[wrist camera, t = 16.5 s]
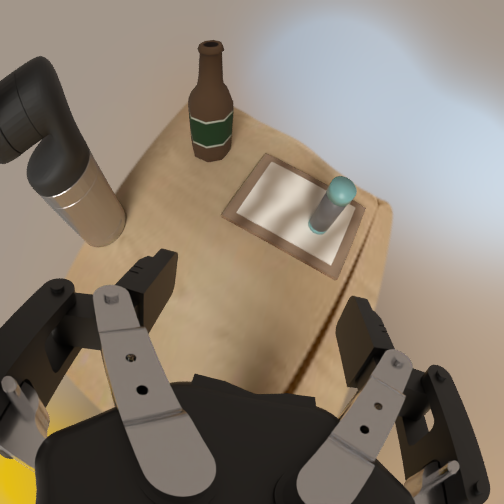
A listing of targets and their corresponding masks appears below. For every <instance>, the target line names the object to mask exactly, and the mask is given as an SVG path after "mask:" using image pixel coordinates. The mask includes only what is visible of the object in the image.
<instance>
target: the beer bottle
mask: <svg viewBox="0 0 504 504" xmlns="http://www.w3.org/2000/svg"><path fill="white" fill-rule="evenodd" d="M198 51H199V53H200V59H199V77H198V83H197V85H196V87H195V88H194V89H193V90H192V92H191V94H190V96H189V100H188V108H189V119H190V129H191V139H192V145H193V149H194V153H195V156H196V157H198V158H200V159H202V160H204V161H206V162H211V161H217V160H222V159H223V157H224V156H225V155H226V154H227V153H228V151H229V150H230V147H231V137H232V123H233V100H232V98H231V95H230V93H229V90H228V88H227V86H226V85H225V84H224V83H223V71H222V51H224V48H223V45H222V43H221V42H219V41H215V40H210V41H204V42H202V43H201V44H199V47H198Z"/></svg>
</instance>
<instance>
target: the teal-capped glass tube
mask: <svg viewBox="0 0 504 504" xmlns="http://www.w3.org/2000/svg"><path fill="white" fill-rule="evenodd" d="M356 192H357V191H356V187H355V185H354V183H353V182H352V181H351V180H350V179H348V178H346V177H342V176H338V177H335V178H334V179H333V180H332V182H331V183H330V185H329V187H328V189H327V191H326V193H325V195H324V196H323V198H322V200H321V201H320V203H319V205H318V206H317V208H316V210H315V211H314V213H313V214H312V216H311V218H310V219H309V222H308V226H309V228H310V230H311V231H312V232H313V233H315V234H318V235H321V234H324V233H325V232H326V231H327V230H328V229H329V228H330V226H331V225H332V224H333V223H334V221H335V220H336V219H337V217H338V216H339V215H340V214H341V212H342V211H343V210H344V209H345V207H346V206H347V205H348V204H349V203H350V202H351V201H352V199H353V198H354V197H355V196H356Z"/></svg>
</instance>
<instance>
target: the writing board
mask: <svg viewBox="0 0 504 504" xmlns="http://www.w3.org/2000/svg"><path fill="white" fill-rule="evenodd" d="M328 187H329V186H328V185H326V184H324V183H322V182H320V181H319V180H317V179H315V178H313V177H311V176H309V175H308V174H306V173H304V172H302V171H300V170H298V169H296V168H294V167H292V166H290V165H289V164H287V163H285V162H283V161H281V160H279V159H277V158H275V157H273V156H271V155H269V154H265V155H264V156H263V158H262V159H261V160H260V162H259V163H258V164H257V166H256V167H255V168H254V170H253V171H252V172H251V174H250V175H249V177H248V178H247V179H246V181H245V182H244V183H243V185H242V186H241V188H240V189H239V190H238V192H237V193H236V194H235V196H234V197H233V199H232V200H231V201H230V203H229V204H228V206H227V207H226V209H225V210H224V211H223V213H222V217H223V218H224V219H226V220H228V221H230V222H232V223H234V224H235V225H237V226H239V227H241V228H243V229H244V230H246V231H248V232H250V233H252V234H254V235H255V236H257V237H259V238H261V239H263V240H264V241H266V242H268V243H270V244H272V245H273V246H275V247H277V248H279V249H280V250H282V251H284V252H286V253H288V254H289V255H291V256H293V257H295V258H297V259H298V260H300V261H302V262H304V263H305V264H307V265H309V266H311V267H312V268H314V269H316V270H318V271H320V272H321V273H323V274H325V275H327V276H328V277H330V278H332V279H334V280H337V279H338V276H339V274H340V272H341V269H342V267H343V265H344V262H345V260H346V258H347V255H348V253H349V250H350V248H351V245H352V243H353V240H354V238H355V235H356V233H357V230H358V227H359V225H360V222H361V220H362V217H363V214H364V211H365V209H366V208H365V207H363V206H362V205H360V204H358V203H357V202H355V201H353V200H352V201H351V202H350V203H349V204H348V205H347V206H346V207H345V209H344V210H343V211H342V212H341V214H340V215H339V216H338V217H337V219H336V220H335V221H334V223H333V224H332V225H331V226H330V228H329V229H328V230H327V231H326V232H325V233H324V234H321V235H318V234H315V233H313V232H312V231H311V230H310V228H309V226H308V222H309V219H310V218H311V216H312V214H313V213H314V211H315V210H316V208H317V206H318V205H319V203H320V201H321V200H322V198H323V196H324V195H325V193H326V191H327V189H328Z"/></svg>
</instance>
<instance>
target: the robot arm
mask: <svg viewBox="0 0 504 504" xmlns="http://www.w3.org/2000/svg"><path fill="white" fill-rule="evenodd" d="M41 139H42V140H41ZM40 140H41V142H40V143H39V144H38V146H37V147H36V148H35V150H34V152H33V153H32V155H31V157H30V159H29V162H28V166H27V179H28V181H29V183H30V185H31V186H32V187H33V189H34V190H35V191H36V192H37V193H38V194H39V195H40V196H41V197H42V198H43V199H44V200H45V202H46V203H47V204H48V205H49V206H50V207H51V208H52V209H53V210H54V211H55V212H56V213H57V214H58V215H59V216H60V217H61V218H62V219H63V220H64V221H65V222H66V223H67V224H68V225H69V226H70V227H71V228H72V229H73V230H74V231H75V232H76V233H77V234H78V235H79V236H80V237H81V238H82V239H83V240H84V241H86V242H87V243H88V244H89V245H91V246H94V247H103V246H106V245H109V244H110V243H112V242H114V241H115V240H116V239H117V238H118V237H119V236H120V234H121V233H122V231H123V229H124V226H125V221H126V216H125V212H124V210H123V208H122V206H121V204H120V203H119V201H118V199H117V197H116V196H115V194H114V192H113V191H112V189H111V187H110V186H109V184H108V182H107V180H106V178H105V177H104V175H103V173H102V171H101V170H100V168H99V166H98V164H97V162H96V161H95V159H94V157H93V155H92V153H91V151H90V149H89V148H88V146H87V144H86V142H85V140H84V138H83V136H82V135H81V133H80V131H79V129H78V127H77V125H76V123H75V121H74V119H73V116H72V113H71V111H70V108H69V106H68V103H67V100H66V98H65V95H64V92H63V89H62V86H61V84H60V81H59V79H58V76H57V73H56V71H55V69H54V67H53V65H52V64H51V63H50V61H48V60H47V59H46V58H45V57H42V56H39V57H36V58H34V59H32V60H30V61H28V62H27V63H25V64H24V65H22V66H21V67H19V68H18V69H17V70H15V71H14V72H12V73H11V74H9V75H8V76H6V77H5V78H4V79H3V80H1V81H0V164H6V163H8V162H10V161H12V160H14V159H16V158H17V157H19V156H20V155H21V154H22V153H24V152H25V151H26V150H28V149H29V148H30V147H32V146H33V145H34V144H36V143H37V142H39V141H40ZM177 261H178V253H177V252H174V251H170V250H166V249H160V250H159V251H158V252H157V254H156V255H155V256H154V257H150V256H147V257H144V258H142V259H140V260H138V261H137V262H136V263H135V265H134V266H133V267H132V268H131V269H130V270H129V271H128V272H127V273H126V274H125V275H124V276H123V277H122V278H121V279H120V280H119V281H118V282H117V283H116V284H115V285H105V286H102V287H100V288H98V289H97V290H96V291H95V292H94V294H93V295H92V294H82V293H75V288H74V285H73V283H72V282H71V281H69V280H67V279H60V278H59V279H53V280H50V281H48V282H46V283H45V284H44V285H43V286H42V287H41V288H40V289H39V290H37V291H36V293H34V294H33V295H32V296H31V297H30V298H29V299H28V300H27V301H26V302H25V303H24V304H23V305H22V306H21V307H20V308H19V309H18V310H17V311H16V312H15V313H14V314H13V315H12V316H11V317H10V319H9V320H8V321H7V322H6V323H5V324H4V325H3V326H2V327H1V328H0V454H1V455H2V456H3V457H5V458H9V459H15V460H17V461H18V462H20V463H21V464H23V465H24V466H26V467H27V468H29V469H30V470H32V471H33V472H35V475H36V486H37V493H36V494H37V495H36V504H483V503H484V502H485V501H486V500H487V499H488V497H489V494H490V484H489V480H488V476H487V472H486V468H485V465H484V461H483V458H482V455H481V452H480V449H479V445H478V443H477V439H476V437H475V434H474V431H473V428H472V426H471V423H470V420H469V418H468V415H467V412H466V410H465V407H464V405H463V403H462V400H461V398H460V396H459V394H458V391H457V389H456V386H455V384H454V382H453V380H452V377H451V376H450V374H449V373H448V372H447V371H446V370H445V369H444V368H443V367H441V366H438V365H431V366H430V367H429V368H428V370H427V371H426V372H422V371H419V370H416V369H413V365H412V362H411V360H410V359H409V357H408V356H406V355H405V354H404V353H402V352H401V351H398V350H395V348H394V346H393V344H392V342H391V339H390V337H389V335H388V333H387V331H386V328H385V327H384V324H383V322H382V320H381V318H380V317H379V316H378V315H377V314H376V312H375V311H373V310H372V308H371V306H370V304H369V302H368V300H367V299H365V298H360V297H356V296H351V297H350V298H349V300H348V302H347V304H346V306H345V308H344V310H343V313H342V315H341V317H340V319H339V321H338V323H337V326H336V338H337V342H338V347H339V351H340V355H341V360H342V364H343V369H344V374H345V379H346V384H347V387H354V388H358V391H357V392H356V394H355V395H354V397H353V398H352V399H351V401H350V402H349V403H348V405H347V406H346V407H345V409H344V410H343V411H342V413H341V414H340V415H339V417H338V418H337V417H335V416H334V415H332V414H331V413H329V412H328V411H326V410H324V409H322V408H319V407H317V406H316V402H315V397H309V396H302V395H295V394H288V393H284V394H254V393H251V392H249V391H246V390H244V389H242V388H239V387H237V386H235V385H232V384H230V383H228V382H226V381H222V380H218V379H214V378H210V377H206V376H202V375H198V374H194V377H193V380H192V382H173V383H169V381H168V379H167V377H166V375H165V373H164V370H163V368H162V366H161V364H160V361H159V359H158V357H157V354H156V352H155V349H154V347H153V345H152V342H151V340H150V337H149V335H148V334H149V332H150V330H151V329H152V327H153V325H154V324H155V322H156V320H157V318H158V317H159V315H160V313H161V312H162V310H163V308H164V307H165V305H166V303H167V302H168V300H169V298H170V297H171V295H172V292H173V289H174V285H175V278H176V269H177ZM82 348H87V349H95V350H101V355H102V359H103V364H104V368H105V372H106V376H107V380H108V384H109V388H110V391H111V395H112V399H113V402H114V406H115V407H114V408H112V409H110V410H107V411H105V412H103V413H100V414H98V415H96V416H93V417H91V418H89V419H86V420H84V421H81V422H79V423H77V424H74V425H72V426H69V427H66V428H64V429H61V430H59V431H56V432H55V433H53V434H51V435H50V436H48V437H47V429H48V426H49V422H50V420H49V414H48V412H47V410H46V406H47V404H48V403H49V401H50V399H51V397H52V396H53V394H54V392H55V390H56V389H57V387H58V385H59V384H60V382H61V380H62V379H63V377H64V375H65V374H66V372H67V371H68V369H69V367H70V366H71V364H72V363H73V361H74V359H75V358H76V356H77V355H78V353H79V352H80V350H81V349H82ZM430 409H431V411H432V414H433V417H434V425H433V428H432V429H431V431H430V432H429V431H428V428H427V424H426V420H425V417H424V415H425V414H426V413H427V412H428V411H429V410H430ZM394 422H395V424H396V428H397V434H398V439H399V444H400V449H401V455H402V460H403V466H404V473H405V480H406V482H405V484H404V486H403V485H402V484H401V483H400V482H399V481H398V480H397V479H396V478H395V477H394V476H393V475H392V474H391V473H390V472H389V471H388V470H387V469H386V468H385V467H384V466H383V465H382V464H381V463H380V462H379V461H378V460H377V459H376V457H377V456H378V454H379V452H380V450H381V448H382V446H383V444H384V442H385V441H386V439H387V437H388V435H389V433H390V431H391V429H392V427H393V425H394Z"/></svg>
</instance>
